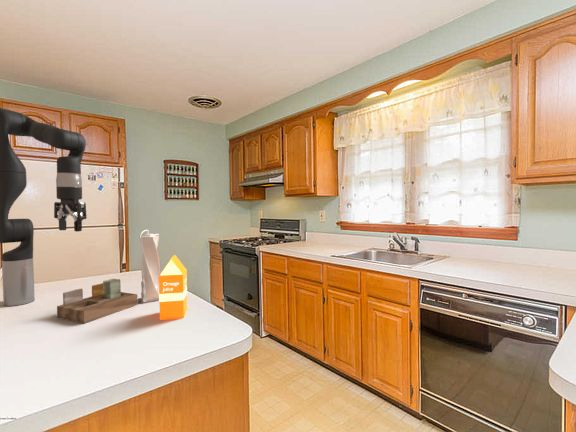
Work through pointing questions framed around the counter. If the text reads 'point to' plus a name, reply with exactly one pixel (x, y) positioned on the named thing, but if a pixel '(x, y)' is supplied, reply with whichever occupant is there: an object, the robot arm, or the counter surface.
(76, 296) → the socket block
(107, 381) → the counter surface
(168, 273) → the orange juice
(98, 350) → the counter surface
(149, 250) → the skyscraper
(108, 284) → the green plug
